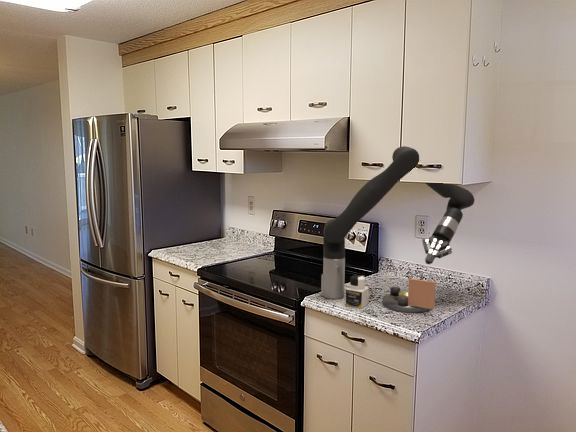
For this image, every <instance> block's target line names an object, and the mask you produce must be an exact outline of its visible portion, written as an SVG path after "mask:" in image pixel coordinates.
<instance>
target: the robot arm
mask: <svg viewBox="0 0 576 432" xmlns="http://www.w3.org/2000/svg"><path fill="white" fill-rule="evenodd" d="M419 160H420V154H419V152H418V150H416V149H415V148H412V147H410V146H399V147H397V148H395V149H394V150H393V152H392V162H391V163H390V164H389V165H388V166H387V167H386V169H384V170H383V171H382V172H381V173H378V174H377V175H375V176H374V177H373V178H371V179H369V180H368V181H367V182H366V183H364V185H363V186H362V187H361V188H360V189H359V190H358V191H357V192H356V194H355V195H354V196H353V197H352V199H351V201H350V202H349V203H348V205H347V206H346V207H345V210H343V212H341V213H340V214H339V215H338V216H336V218H333V219H329V220H328V221H326V223H324V227H323V243H322V244H323V246H322V247H323V248H322V249H323V262H322V263H323V267H322V269H323V270H322V271H323V273H322V274H321V276H320V277H321V278H320V279H321V281H320V282H321V283H320V284H321V286H320V290H321V291H320V296H321V297H324V298H326V299H330V300H332V299H333V300H337V299H342V298H345V279H346V278H345V277H346V276H345V274H346V272H345V271H346V270H345V269H346V244H345V243H346V237H347V235H348V234H349V233H350V232H351V230H352V229H353V228H354V227H355V225H356V224H357V223H358V222H359V221H361V219H362V218H364V217H365V216H366V215H367V214H368V213H369V212H370V211H371V210H372V209H374V208H375V207H376V206H377V204H379V202H381V201H382V200H383V198H384V197H385V196H386V195H387V194H388V193H389V192H390V191H391V190H392V189H393V188H394V186H395V185H396V184H397V183H398V182H399V181H400V180H401V179H403V178H404V177H405V176H406V175H408V174H409V173H410V171H411V170H412V169H413V168H415V167H416V165H417V164H418V162H419ZM425 184H426V185H427V187H429V188H430V189H432V191H434V192H436V194H438V195H439V196H441V197H442V198H444V199H445V198H446V199H448V202H447V205H446V211H445V212H444V214H443V216H442V218H441V219H440V220H439V222H438V224H437V225H436V227H435V229H434V230H433V233H432V234H431V236H430V237H429V238H427V239H426V238H422V239H421V241H422V246H423V250H424V253H425V255H426V256H425V259H424V261H425V264H427V265H429V266H430V265H431V264H433V262H434V261H435V259H436V258H437V259H442V258H444V257H446V256H448V255H451V254H452V253H453V248H451V247H450V243H451V242H452V239H453V238H454V235H455V234H456V232H457V230H458V227H459V225H460V223H461V222H462V219H463V217H464V216H463V212H462V210H464V209H467V208H471V207H472V206H473V205H474V203H475V196H474V195H473V193H472V192H471V191H469V190H468V189H466V188H464V187H461V186H460V185H458V184H457V185H456V184H455V185H454V183H453V184H443V183H424V185H425ZM428 245H429V247H430V248H429V247H428Z"/></svg>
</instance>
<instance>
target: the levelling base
mask: <svg viewBox="0 0 576 432" xmlns="http://www.w3.org/2000/svg"><path fill="white" fill-rule="evenodd" d="M389 291H390V293H387V294H385V295H383V296H382V301H381V303H382V305H383V307H385V308H386V309H389V310H392V311H395V312H398V313H399V312H400V313H405V314H422V313H427V312H430V311H433V309H428V308H422V307H416V306H410V305H407V306H401V305H398V296H400V295H404V296H408V289H405V290H401V287H399V286H391V287H390V290H389Z"/></svg>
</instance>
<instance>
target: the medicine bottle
mask: <svg viewBox="0 0 576 432" xmlns="http://www.w3.org/2000/svg"><path fill="white" fill-rule="evenodd" d="M349 279H350V280H349V287H346V288H345V306H346V307H351V308H356V309H357V308H358V309H362V308H364V307H366V306H367V305H369V300H370V299H369V296H370V295H369V294H370V293H369V292H370V288H369V287H367V286H366V278H365V276H363V275H360V274H357V275H352V276H350V277H349Z"/></svg>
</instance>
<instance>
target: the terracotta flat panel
mask: <svg viewBox="0 0 576 432" xmlns="http://www.w3.org/2000/svg"><path fill="white" fill-rule="evenodd" d="M436 285H437V284H436V281H432V280H424V279H416V278H408V287H407V288H408V289H407V290H408V296H404V295H400V296H398V305H401V306H407V305H410V306H416V307H422V308H428V309H432V310H435V303H436V300H435V299H436Z"/></svg>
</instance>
